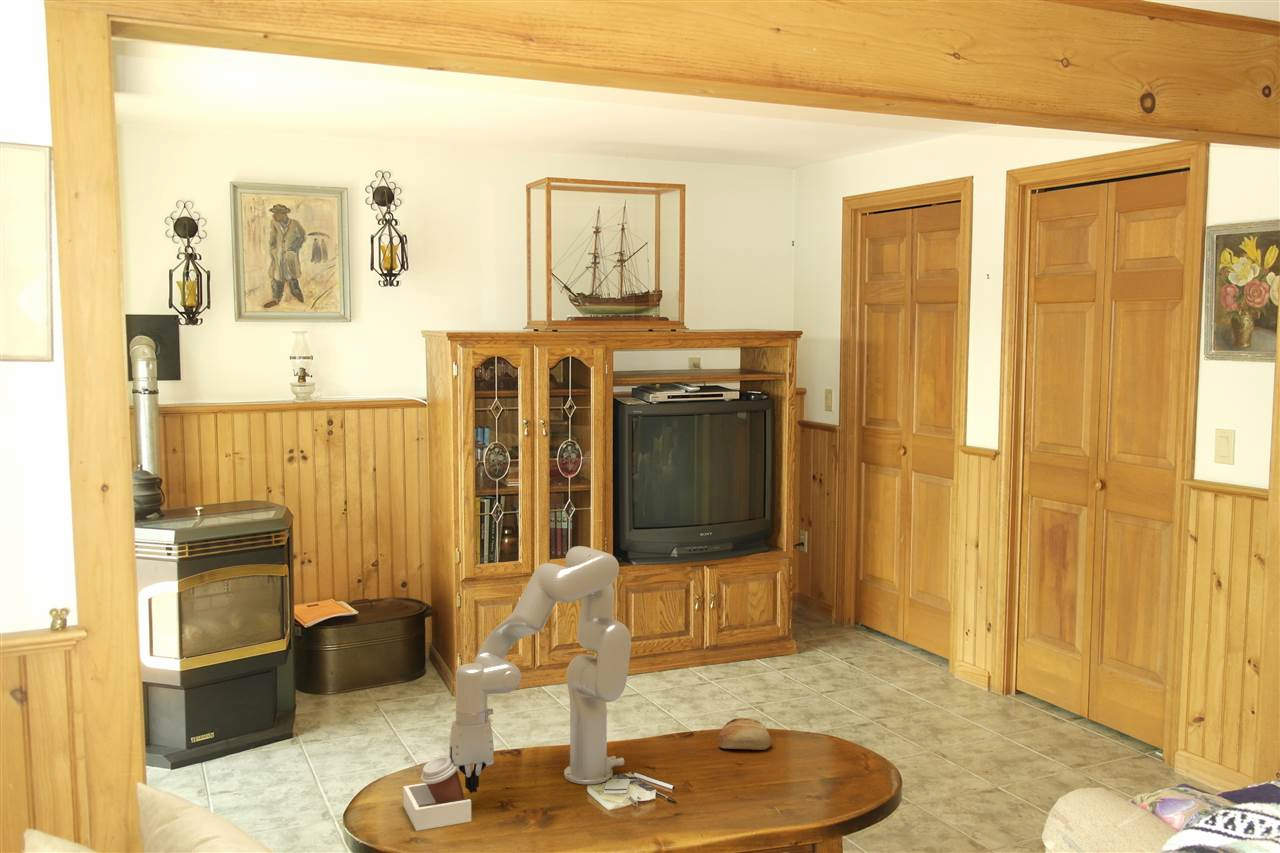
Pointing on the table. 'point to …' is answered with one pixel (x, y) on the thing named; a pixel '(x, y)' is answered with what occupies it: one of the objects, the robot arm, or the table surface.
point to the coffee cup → (443, 780)
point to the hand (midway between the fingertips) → (472, 790)
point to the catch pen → (433, 809)
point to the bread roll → (744, 735)
